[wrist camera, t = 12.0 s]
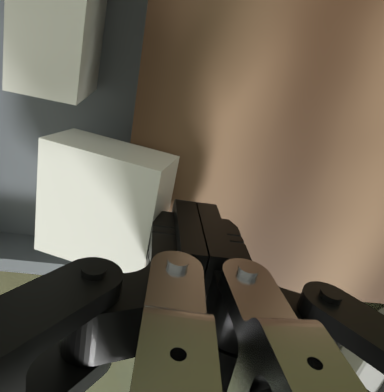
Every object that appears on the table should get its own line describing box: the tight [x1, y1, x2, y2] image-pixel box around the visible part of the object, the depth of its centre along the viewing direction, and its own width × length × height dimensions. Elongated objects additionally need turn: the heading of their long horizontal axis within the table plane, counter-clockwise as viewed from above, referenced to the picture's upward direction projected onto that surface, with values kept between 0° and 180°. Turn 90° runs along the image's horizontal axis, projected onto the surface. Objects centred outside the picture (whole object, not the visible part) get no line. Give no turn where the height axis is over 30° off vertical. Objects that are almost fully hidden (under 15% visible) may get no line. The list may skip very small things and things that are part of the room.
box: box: [0, 0, 148, 275], centre depth 13 cm, size 6×13×2 cm, turn 169°
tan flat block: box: [130, 0, 384, 304], centre depth 15 cm, size 13×12×3 cm
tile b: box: [34, 128, 180, 273], centre depth 12 cm, size 4×4×2 cm
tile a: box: [2, 0, 107, 105], centre depth 11 cm, size 4×4×2 cm
